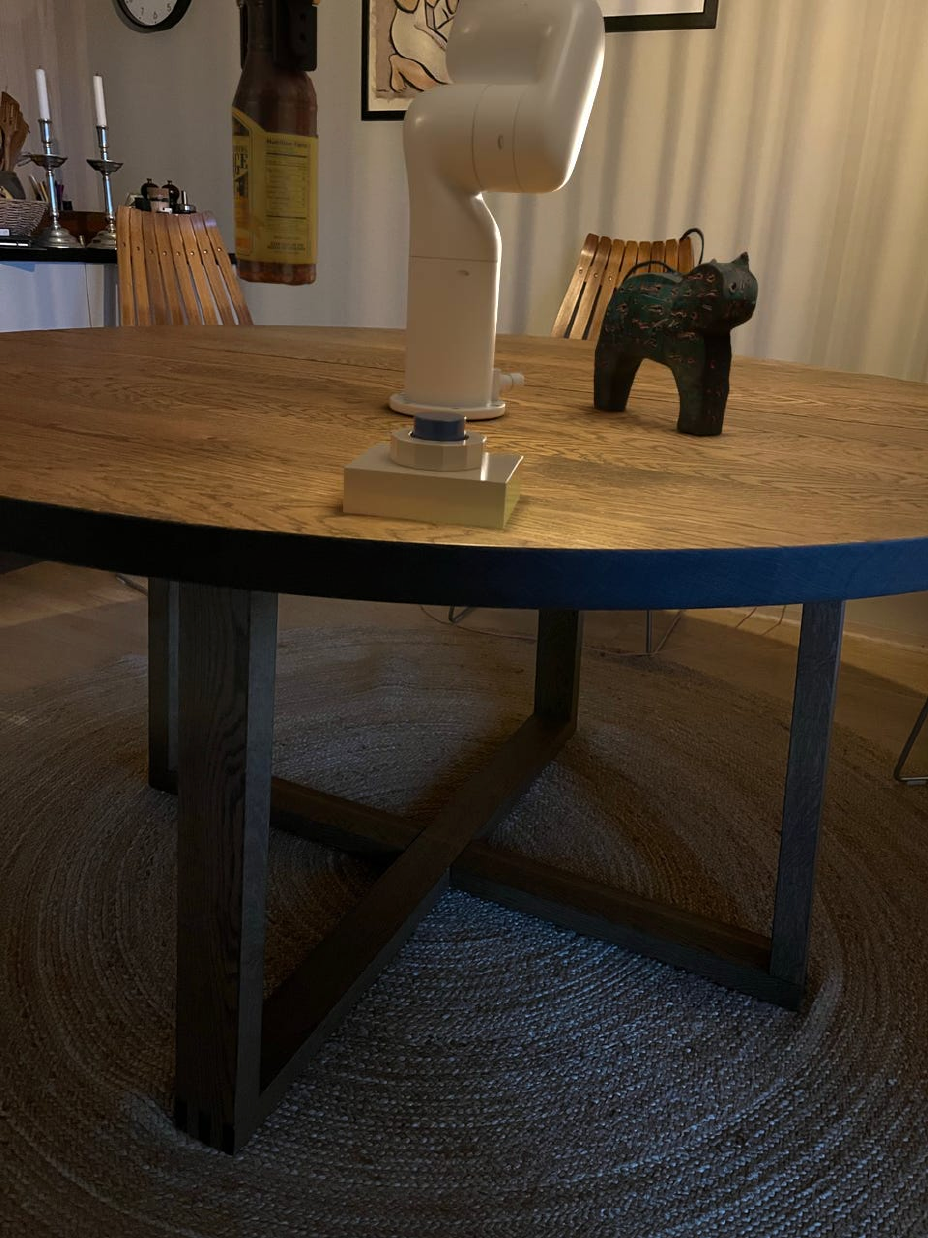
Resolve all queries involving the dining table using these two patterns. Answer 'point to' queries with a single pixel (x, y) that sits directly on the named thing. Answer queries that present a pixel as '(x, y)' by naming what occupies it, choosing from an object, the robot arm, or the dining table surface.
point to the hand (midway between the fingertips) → (278, 68)
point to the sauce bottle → (274, 163)
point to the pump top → (439, 426)
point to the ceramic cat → (676, 335)
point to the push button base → (434, 481)
